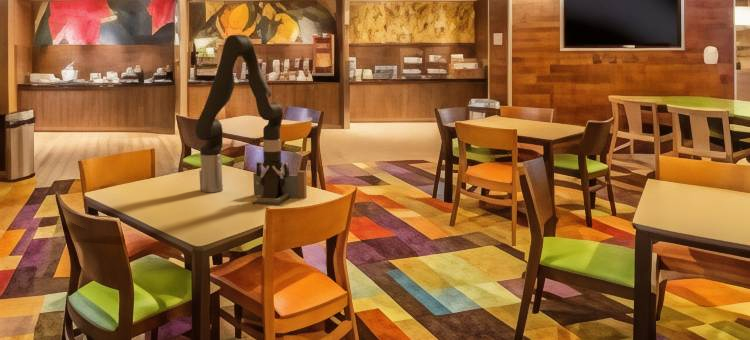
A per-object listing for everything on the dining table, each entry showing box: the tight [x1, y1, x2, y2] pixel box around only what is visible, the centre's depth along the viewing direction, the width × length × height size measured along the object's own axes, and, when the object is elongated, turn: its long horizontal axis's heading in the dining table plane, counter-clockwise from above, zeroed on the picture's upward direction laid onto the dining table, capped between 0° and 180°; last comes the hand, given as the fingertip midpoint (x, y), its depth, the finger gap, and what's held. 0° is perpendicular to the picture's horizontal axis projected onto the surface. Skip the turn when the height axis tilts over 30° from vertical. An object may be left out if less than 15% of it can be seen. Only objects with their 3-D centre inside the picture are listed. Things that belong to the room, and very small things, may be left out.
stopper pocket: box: [252, 193, 292, 206], centre depth 269 cm, size 12×14×2 cm
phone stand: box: [263, 172, 283, 199], centre depth 270 cm, size 9×6×12 cm, turn 166°
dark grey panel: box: [253, 170, 308, 200], centre depth 276 cm, size 24×4×12 cm, turn 77°
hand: (273, 186), depth 270 cm, fingers open, 8 cm apart
